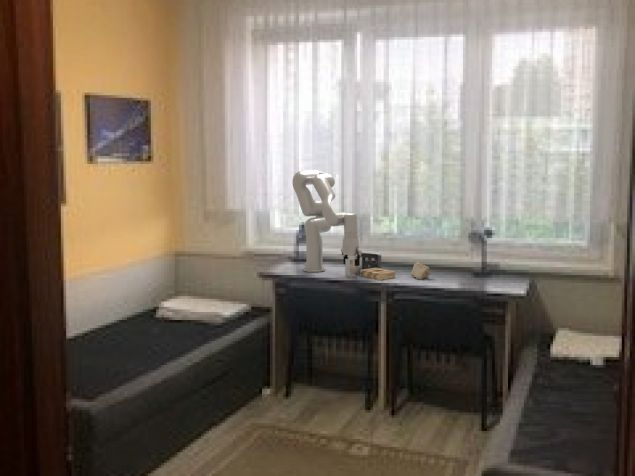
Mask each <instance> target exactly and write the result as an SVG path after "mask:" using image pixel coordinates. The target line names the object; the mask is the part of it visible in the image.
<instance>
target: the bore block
mask: <svg viewBox="0 0 635 476" xmlns="http://www.w3.org/2000/svg"><path fill="white" fill-rule="evenodd" d="M359 276H360V277H364V278H369V279H374V280H376V279H378V281H384V280H390V279H395V278H396V271H394V270H389V269H385V268H370V269H364V270H361V272H360V275H359ZM389 278H390V279H389ZM383 279H384V280H383Z"/></svg>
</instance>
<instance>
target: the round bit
mask: <svg viewBox="0 0 635 476" xmlns="http://www.w3.org/2000/svg"><path fill="white" fill-rule="evenodd" d="M361 270H362V257H360V266H355V276H356V275H357V276H360V272H361Z"/></svg>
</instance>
